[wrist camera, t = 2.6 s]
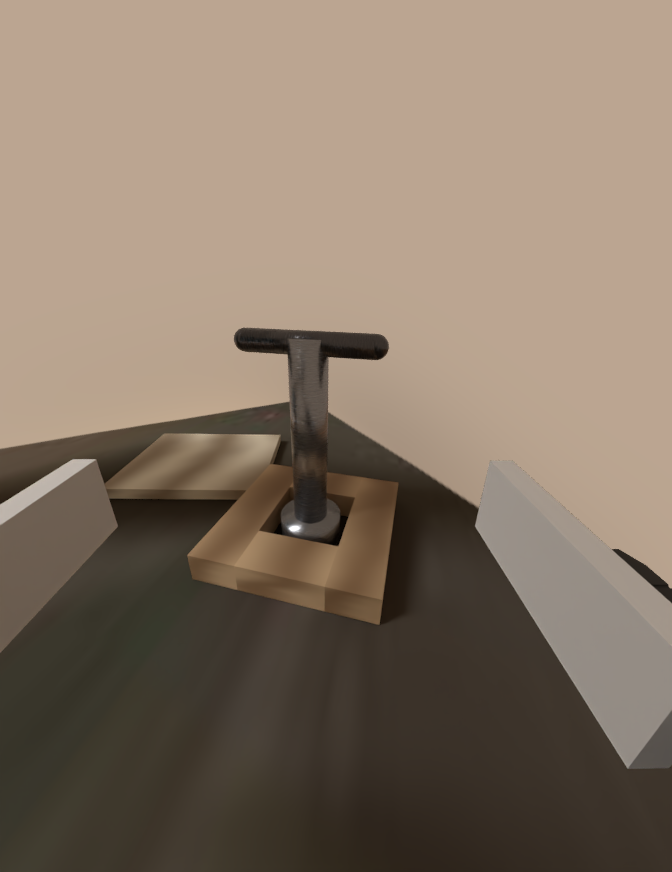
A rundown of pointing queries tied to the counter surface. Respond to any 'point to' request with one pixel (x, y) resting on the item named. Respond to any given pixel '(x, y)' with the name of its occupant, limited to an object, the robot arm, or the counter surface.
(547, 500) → the robot arm
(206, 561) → the holder block
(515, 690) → the counter surface
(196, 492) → the birch board
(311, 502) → the chuck key
